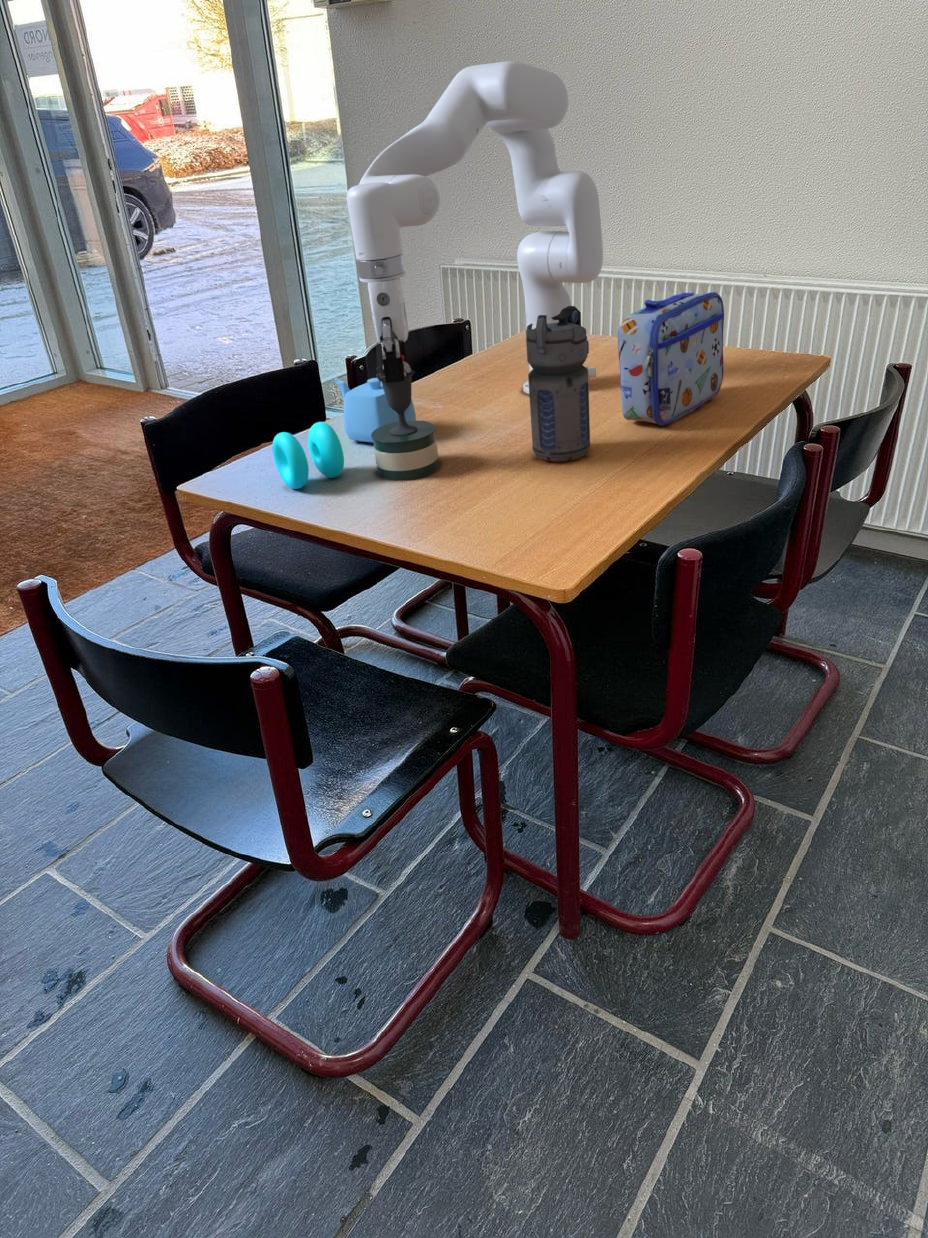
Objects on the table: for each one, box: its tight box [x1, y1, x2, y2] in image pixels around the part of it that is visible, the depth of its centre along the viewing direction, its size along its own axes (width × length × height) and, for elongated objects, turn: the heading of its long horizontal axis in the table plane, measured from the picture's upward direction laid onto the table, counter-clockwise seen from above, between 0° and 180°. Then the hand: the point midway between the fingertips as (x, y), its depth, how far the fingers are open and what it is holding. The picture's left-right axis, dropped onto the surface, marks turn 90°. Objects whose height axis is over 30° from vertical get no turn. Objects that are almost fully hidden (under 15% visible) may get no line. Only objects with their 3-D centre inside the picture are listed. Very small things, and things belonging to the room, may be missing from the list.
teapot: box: [333, 377, 417, 443], centre depth 178 cm, size 12×18×12 cm
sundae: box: [375, 341, 417, 436], centre depth 156 cm, size 7×7×15 cm
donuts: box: [272, 421, 345, 490], centre depth 159 cm, size 10×10×10 cm
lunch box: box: [617, 291, 725, 427], centre depth 170 cm, size 28×10×22 cm, turn 140°
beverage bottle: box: [525, 305, 591, 463], centre depth 156 cm, size 10×13×25 cm
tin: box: [371, 419, 440, 481], centre depth 161 cm, size 11×11×7 cm
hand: (396, 373), depth 155 cm, fingers open, 9 cm apart
